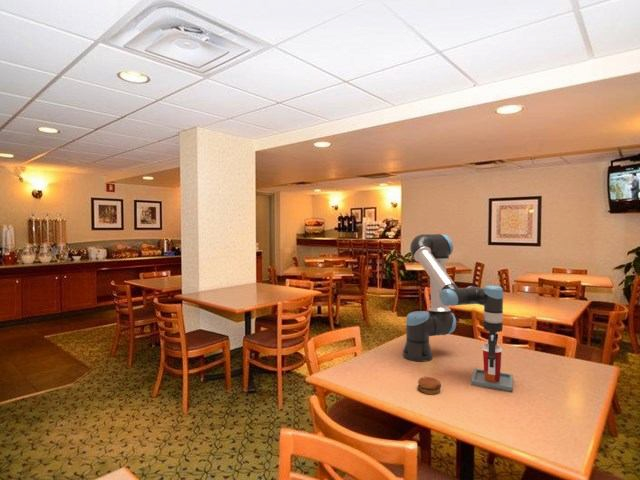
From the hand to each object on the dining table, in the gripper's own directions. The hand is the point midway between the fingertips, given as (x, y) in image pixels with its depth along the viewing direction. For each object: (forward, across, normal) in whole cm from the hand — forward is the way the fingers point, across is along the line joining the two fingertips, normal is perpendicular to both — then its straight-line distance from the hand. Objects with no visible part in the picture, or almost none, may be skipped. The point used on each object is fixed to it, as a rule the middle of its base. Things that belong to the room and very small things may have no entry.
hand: (492, 369), depth 168 cm
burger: (+6, +21, -23) cm, 32 cm away
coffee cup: (+5, 0, 0) cm, 5 cm away
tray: (+6, 0, 0) cm, 6 cm away
